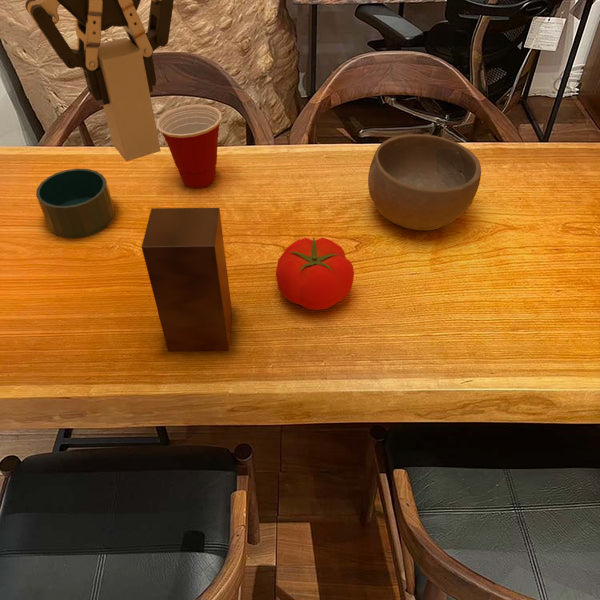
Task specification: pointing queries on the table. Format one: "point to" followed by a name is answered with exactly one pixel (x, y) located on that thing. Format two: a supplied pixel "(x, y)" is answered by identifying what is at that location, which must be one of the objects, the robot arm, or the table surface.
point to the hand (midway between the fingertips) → (124, 94)
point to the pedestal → (189, 277)
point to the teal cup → (76, 203)
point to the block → (128, 99)
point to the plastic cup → (192, 142)
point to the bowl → (423, 180)
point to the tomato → (314, 273)
